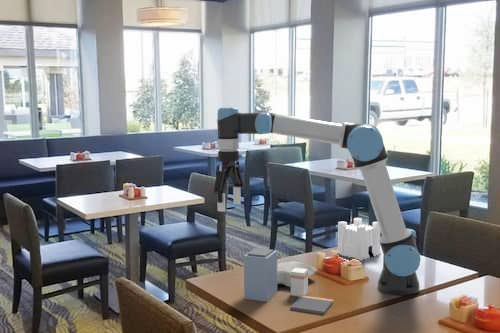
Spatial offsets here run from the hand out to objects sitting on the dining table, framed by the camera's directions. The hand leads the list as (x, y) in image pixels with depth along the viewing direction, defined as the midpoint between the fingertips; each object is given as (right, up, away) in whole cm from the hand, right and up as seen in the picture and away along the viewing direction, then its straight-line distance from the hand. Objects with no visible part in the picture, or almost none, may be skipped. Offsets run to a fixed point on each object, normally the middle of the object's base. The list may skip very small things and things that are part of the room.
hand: (229, 207), depth 213 cm
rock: (+22, -31, +14) cm, 40 cm away
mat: (+29, -34, -11) cm, 46 cm away
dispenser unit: (+12, -32, -1) cm, 34 cm away
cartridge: (+26, -32, +1) cm, 41 cm away
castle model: (+57, -25, +51) cm, 81 cm away
